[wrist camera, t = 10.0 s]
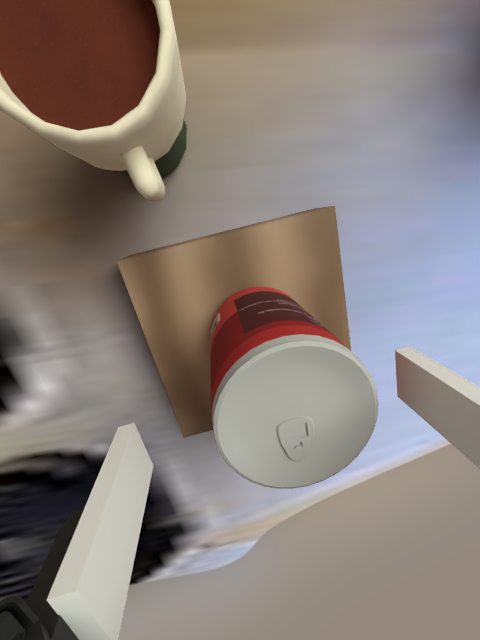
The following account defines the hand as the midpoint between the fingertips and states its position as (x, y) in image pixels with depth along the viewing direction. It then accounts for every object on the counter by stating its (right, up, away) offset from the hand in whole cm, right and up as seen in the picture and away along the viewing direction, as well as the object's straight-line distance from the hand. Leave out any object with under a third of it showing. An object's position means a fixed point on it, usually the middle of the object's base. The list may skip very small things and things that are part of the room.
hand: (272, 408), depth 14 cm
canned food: (0, +3, +9) cm, 10 cm away
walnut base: (-1, +4, +13) cm, 14 cm away
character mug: (-9, +18, +7) cm, 21 cm away
